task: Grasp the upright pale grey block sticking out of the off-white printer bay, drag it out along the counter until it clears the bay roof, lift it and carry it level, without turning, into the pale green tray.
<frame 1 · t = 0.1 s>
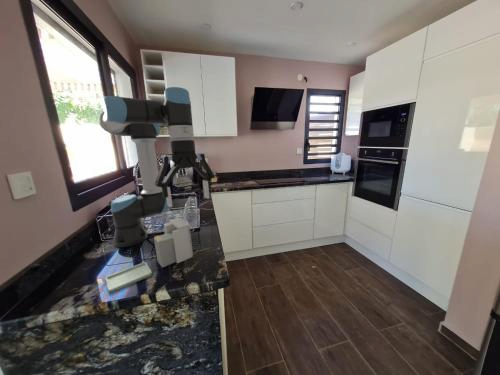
hand: (189, 201, 69), 28 cm above the table, fingers open, 13 cm apart
printer bay: (181, 255, 86), on the table
upright pale grey block: (172, 259, 83), on the table
tray: (129, 277, 73), on the table
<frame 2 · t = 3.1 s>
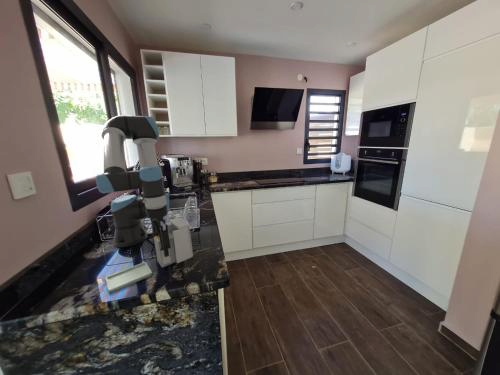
hand: (164, 259, 81), 1 cm above the table, fingers closed on upright pale grey block, 6 cm apart
upright pale grey block: (172, 259, 83), on the table, touching gripper
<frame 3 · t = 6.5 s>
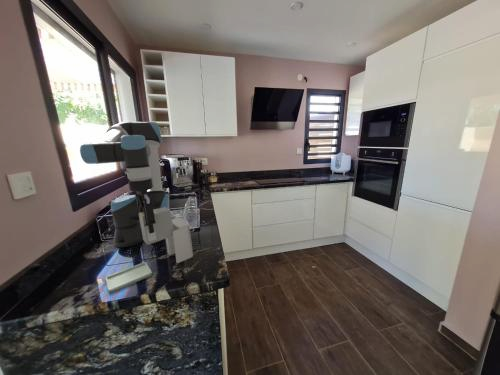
hand: (149, 237, 76), 13 cm above the table, fingers closed on upright pale grey block, 6 cm apart
upright pale grey block: (158, 237, 79), point 11 cm above the table, touching gripper
when the fingers open (3 cm above the table, at t = 10.0 s): upright pale grey block drops 2 cm, resting on tray.
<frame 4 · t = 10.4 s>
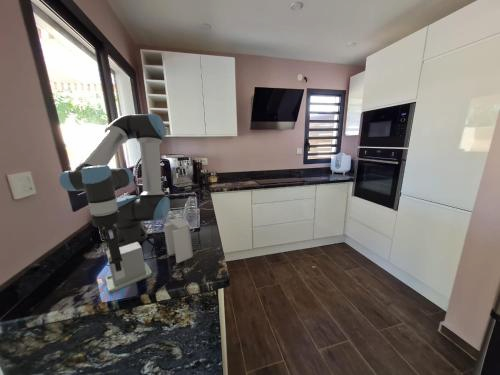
hand: (117, 269, 70), 5 cm above the table, fingers open, 11 cm apart
upright pale grey block: (129, 276, 73), resting on tray
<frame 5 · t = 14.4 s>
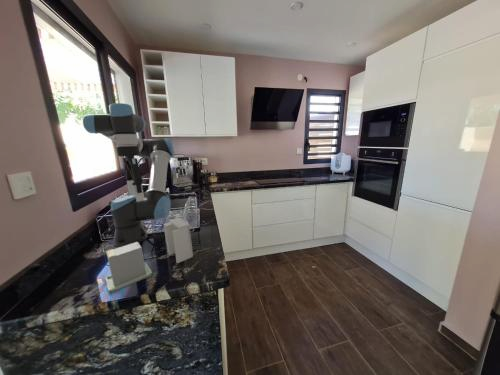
hand: (136, 197, 82), 27 cm above the table, fingers open, 13 cm apart
nothing on the table moved.
at the end: upright pale grey block 0.1 cm off-centre on the tray, point 0.5 cm above the tray's base; upright pale grey block tilted 0°; the gripper is holding nothing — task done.
